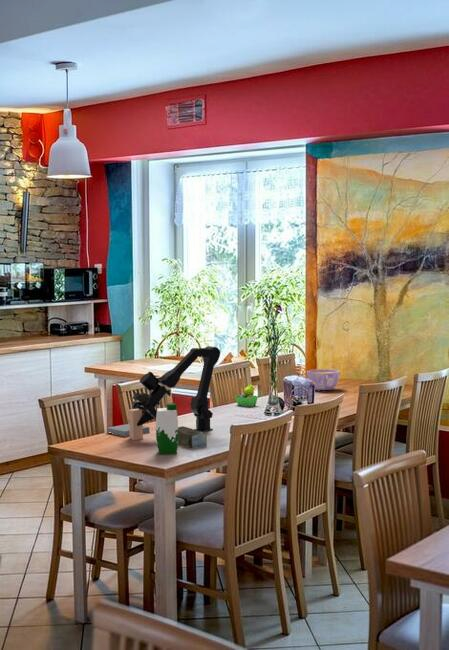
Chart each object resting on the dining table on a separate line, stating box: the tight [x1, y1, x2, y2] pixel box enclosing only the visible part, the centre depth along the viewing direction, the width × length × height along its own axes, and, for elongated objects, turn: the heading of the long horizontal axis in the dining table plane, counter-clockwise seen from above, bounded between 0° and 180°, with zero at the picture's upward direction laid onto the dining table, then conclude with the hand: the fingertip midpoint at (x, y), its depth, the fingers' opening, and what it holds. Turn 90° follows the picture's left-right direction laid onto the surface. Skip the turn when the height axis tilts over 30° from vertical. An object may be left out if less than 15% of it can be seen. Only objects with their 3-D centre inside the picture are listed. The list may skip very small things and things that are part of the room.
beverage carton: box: [178, 425, 208, 449], centre depth 380 cm, size 8×19×7 cm, turn 35°
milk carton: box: [155, 402, 179, 455], centre depth 363 cm, size 9×9×20 cm
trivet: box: [106, 423, 151, 438], centre depth 409 cm, size 14×14×2 cm
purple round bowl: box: [306, 368, 341, 391], centre depth 531 cm, size 20×20×12 cm
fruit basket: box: [234, 384, 259, 407], centre depth 480 cm, size 11×9×11 cm
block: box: [128, 408, 144, 441], centre depth 394 cm, size 4×4×13 cm
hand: (133, 423), depth 393 cm, fingers open, 9 cm apart
